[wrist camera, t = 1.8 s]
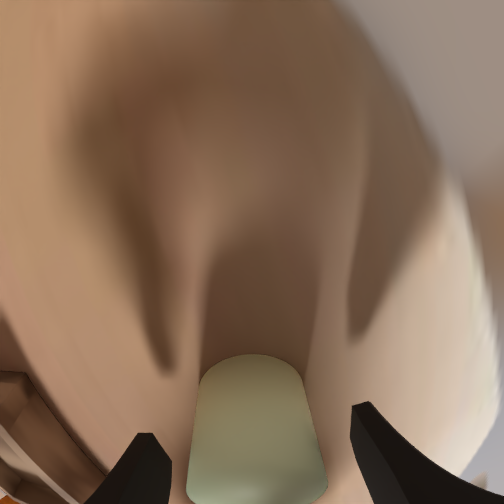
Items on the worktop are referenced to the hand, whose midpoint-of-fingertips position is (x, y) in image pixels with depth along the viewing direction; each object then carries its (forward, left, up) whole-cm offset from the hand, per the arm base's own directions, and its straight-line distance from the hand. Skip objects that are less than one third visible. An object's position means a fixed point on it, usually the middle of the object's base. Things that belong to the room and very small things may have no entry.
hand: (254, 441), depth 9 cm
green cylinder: (0, 0, -3) cm, 3 cm away
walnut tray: (-5, +18, -3) cm, 19 cm away
